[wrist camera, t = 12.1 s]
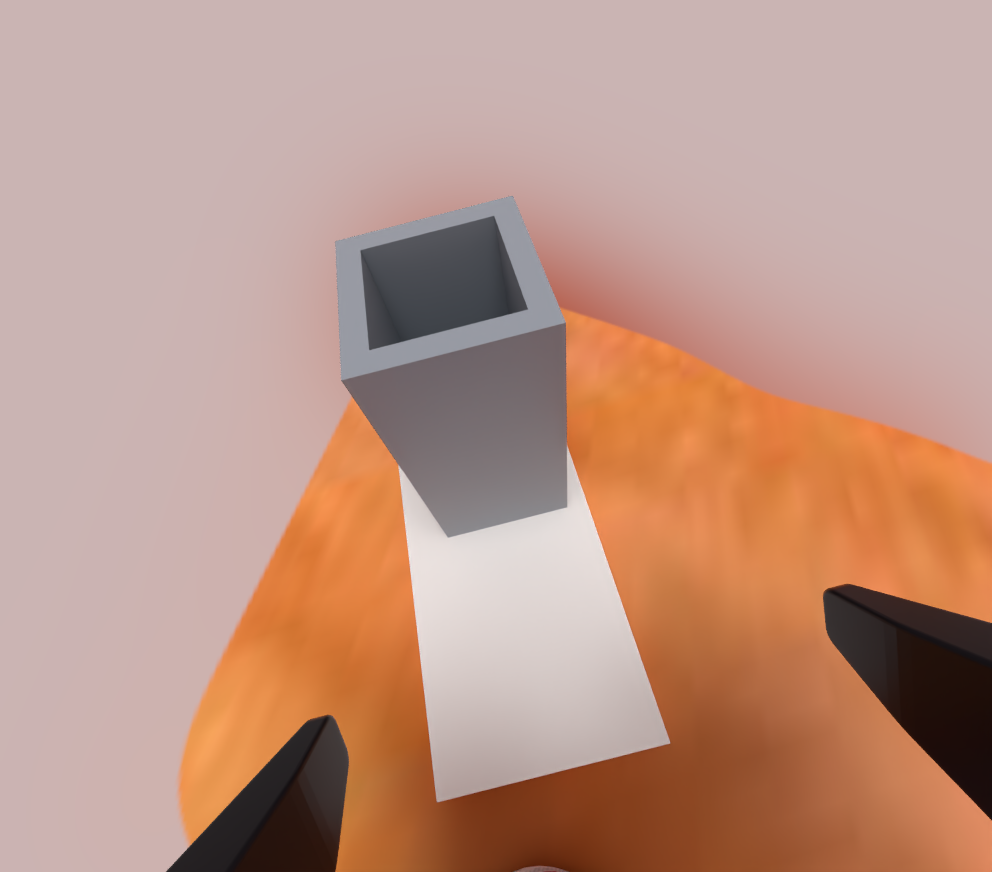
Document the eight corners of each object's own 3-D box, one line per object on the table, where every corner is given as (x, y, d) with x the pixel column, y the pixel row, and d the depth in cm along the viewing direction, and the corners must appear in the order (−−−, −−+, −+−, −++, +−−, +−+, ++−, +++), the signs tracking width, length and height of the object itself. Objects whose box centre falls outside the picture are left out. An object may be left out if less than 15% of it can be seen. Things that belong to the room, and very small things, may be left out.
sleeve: (567, 507, 23) (565, 322, 12) (448, 537, 23) (341, 380, 12) (535, 409, 26) (512, 195, 15) (431, 436, 26) (335, 241, 15)
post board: (663, 741, 19) (692, 749, 14) (445, 796, 19) (407, 821, 14) (544, 393, 28) (540, 333, 24) (400, 430, 28) (369, 377, 24)
